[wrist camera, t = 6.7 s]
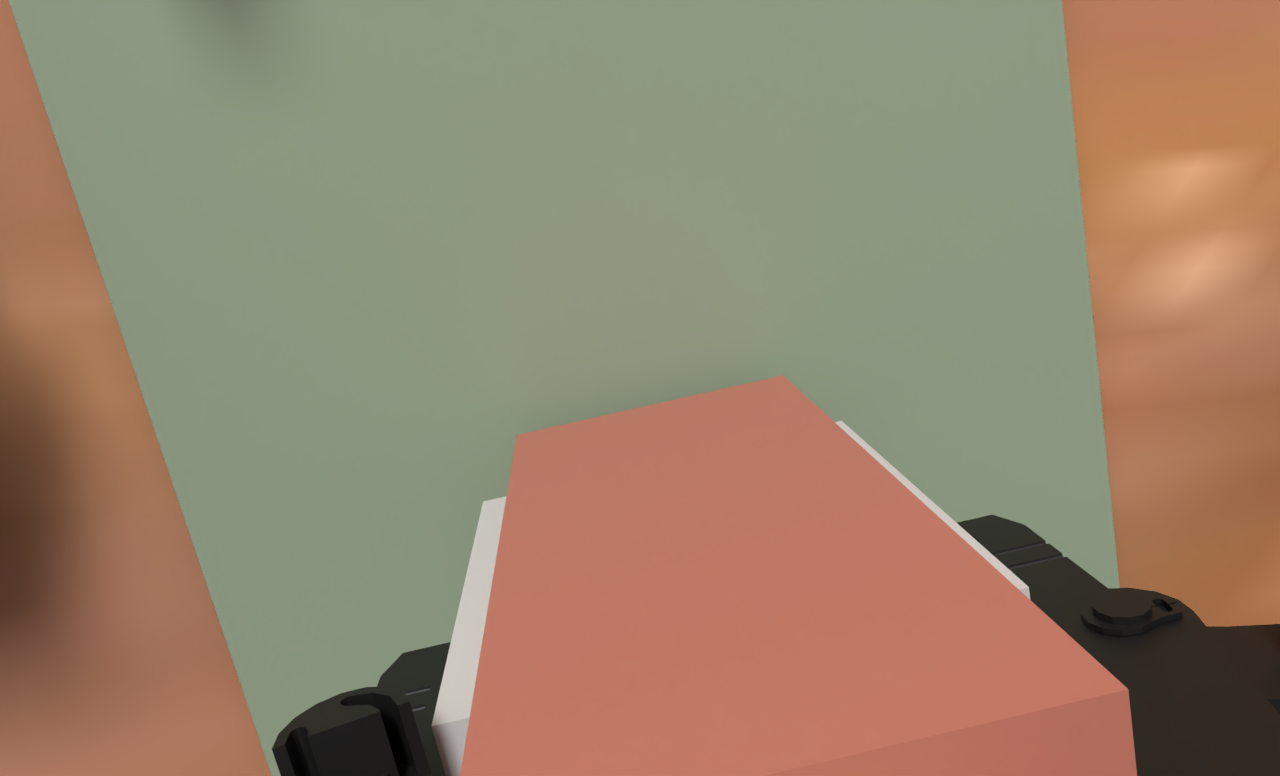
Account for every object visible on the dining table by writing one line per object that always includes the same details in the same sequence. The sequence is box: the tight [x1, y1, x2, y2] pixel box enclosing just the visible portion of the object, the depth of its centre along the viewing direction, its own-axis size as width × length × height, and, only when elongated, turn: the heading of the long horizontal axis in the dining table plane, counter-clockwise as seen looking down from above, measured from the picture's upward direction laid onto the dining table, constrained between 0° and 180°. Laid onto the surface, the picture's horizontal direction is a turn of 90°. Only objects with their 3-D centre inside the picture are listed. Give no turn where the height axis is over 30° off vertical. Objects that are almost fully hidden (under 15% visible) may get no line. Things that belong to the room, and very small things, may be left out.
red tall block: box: [460, 375, 1137, 776], centre depth 11 cm, size 4×4×12 cm
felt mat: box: [9, 0, 1120, 776], centre depth 16 cm, size 16×34×1 cm, turn 12°
